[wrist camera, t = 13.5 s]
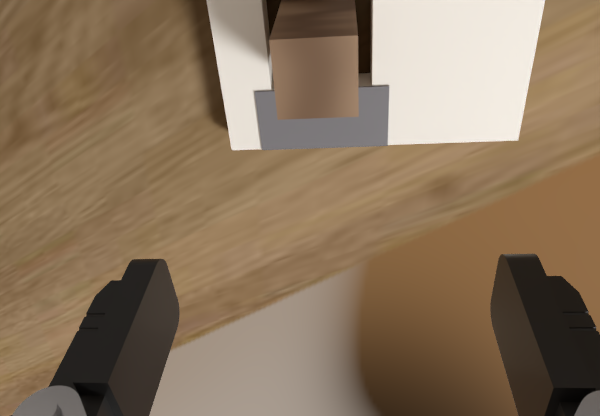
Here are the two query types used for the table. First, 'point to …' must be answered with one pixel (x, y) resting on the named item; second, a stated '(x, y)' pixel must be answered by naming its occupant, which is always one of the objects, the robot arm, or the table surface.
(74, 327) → the table surface
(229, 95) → the subfloor panel
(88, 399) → the robot arm
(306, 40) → the brown wooden block
